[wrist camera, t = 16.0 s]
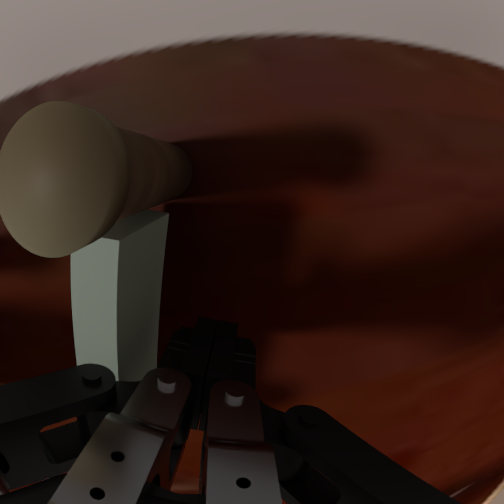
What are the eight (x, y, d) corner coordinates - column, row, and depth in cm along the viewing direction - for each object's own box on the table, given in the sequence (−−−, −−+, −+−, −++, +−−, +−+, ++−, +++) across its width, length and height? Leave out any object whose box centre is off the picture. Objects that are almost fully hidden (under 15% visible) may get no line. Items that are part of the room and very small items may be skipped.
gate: (176, 214, 12) (93, 266, 5) (161, 423, 15) (129, 530, 8) (129, 206, 12) (15, 249, 5) (126, 414, 15) (82, 515, 8)
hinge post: (205, 194, 13) (134, 232, 5) (143, 213, 13) (18, 272, 5) (187, 129, 12) (93, 74, 4) (126, 151, 12) (-15, 141, 4)
